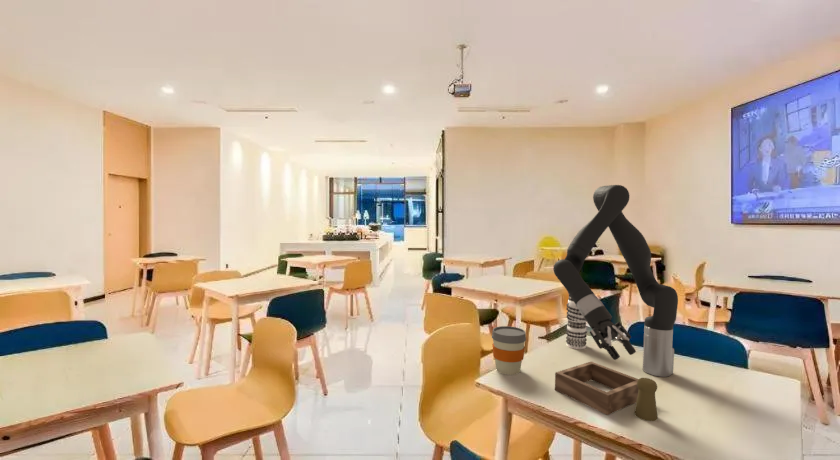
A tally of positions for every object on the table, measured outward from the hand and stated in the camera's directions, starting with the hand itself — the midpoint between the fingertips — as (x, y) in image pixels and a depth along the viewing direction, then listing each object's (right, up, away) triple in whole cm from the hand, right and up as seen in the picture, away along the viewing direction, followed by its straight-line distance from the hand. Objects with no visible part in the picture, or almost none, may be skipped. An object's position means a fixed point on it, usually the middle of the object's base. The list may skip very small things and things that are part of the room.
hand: (625, 356), depth 125 cm
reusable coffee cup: (-30, -14, +28) cm, 43 cm away
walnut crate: (-5, -15, +8) cm, 18 cm away
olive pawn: (+3, -16, -5) cm, 17 cm away
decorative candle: (+6, -13, +55) cm, 57 cm away
